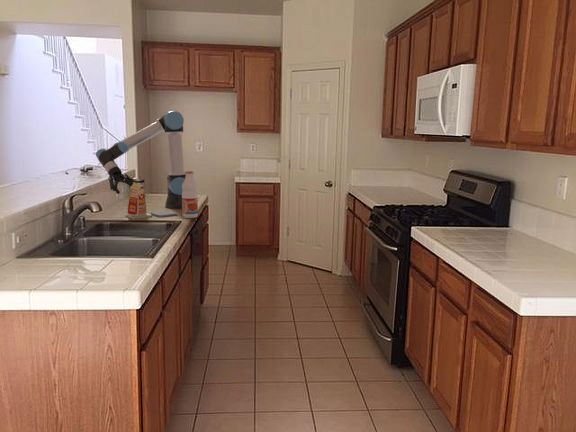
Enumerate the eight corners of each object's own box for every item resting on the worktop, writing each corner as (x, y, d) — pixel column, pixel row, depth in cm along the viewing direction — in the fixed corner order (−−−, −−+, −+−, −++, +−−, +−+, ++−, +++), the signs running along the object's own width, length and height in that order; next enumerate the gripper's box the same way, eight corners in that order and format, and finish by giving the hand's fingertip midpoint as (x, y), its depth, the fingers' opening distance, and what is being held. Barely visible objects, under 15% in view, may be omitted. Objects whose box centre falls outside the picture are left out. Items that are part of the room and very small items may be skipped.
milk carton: (126, 215, 294) (125, 182, 291) (136, 212, 303) (135, 181, 299) (139, 216, 291) (138, 183, 288) (148, 214, 300) (147, 181, 296)
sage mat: (143, 214, 306) (143, 212, 306) (151, 216, 297) (151, 214, 297) (124, 216, 298) (124, 214, 298) (133, 218, 289) (133, 217, 289)
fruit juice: (189, 215, 306) (188, 170, 301) (201, 216, 302) (200, 171, 297) (179, 217, 298) (178, 171, 293) (191, 218, 293) (190, 172, 288)
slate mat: (168, 212, 313) (168, 210, 312) (177, 215, 304) (177, 213, 304) (150, 214, 305) (150, 212, 305) (159, 217, 296) (159, 215, 296)
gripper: (125, 172, 314) (143, 197, 310) (93, 175, 293) (112, 202, 288) (131, 165, 311) (149, 190, 307) (99, 167, 289) (118, 194, 285)
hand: (131, 196), depth 298 cm, fingers open, 13 cm apart
